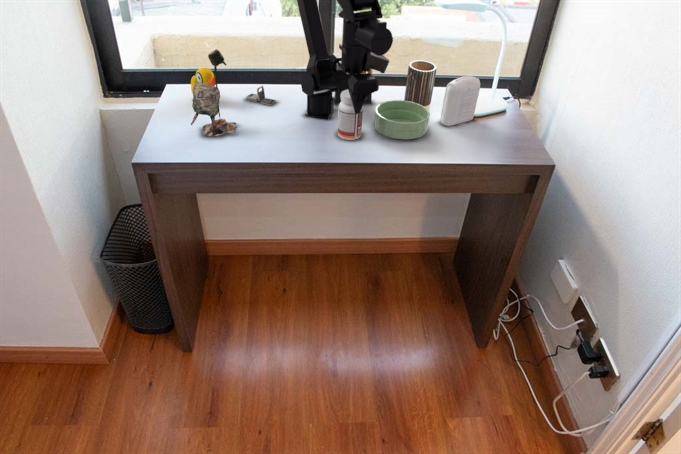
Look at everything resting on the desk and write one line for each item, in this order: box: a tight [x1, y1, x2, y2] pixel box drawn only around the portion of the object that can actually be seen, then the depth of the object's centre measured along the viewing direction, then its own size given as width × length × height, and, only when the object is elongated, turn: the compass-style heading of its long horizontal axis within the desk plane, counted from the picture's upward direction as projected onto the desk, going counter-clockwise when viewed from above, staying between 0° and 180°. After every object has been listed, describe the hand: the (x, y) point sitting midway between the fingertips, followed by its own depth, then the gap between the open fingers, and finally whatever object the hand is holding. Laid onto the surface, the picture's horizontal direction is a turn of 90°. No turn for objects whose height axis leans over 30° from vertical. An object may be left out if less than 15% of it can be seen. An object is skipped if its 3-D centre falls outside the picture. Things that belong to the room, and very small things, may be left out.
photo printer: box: [439, 75, 481, 127], centre depth 136 cm, size 10×4×12 cm, turn 123°
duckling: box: [190, 67, 216, 95], centre depth 139 cm, size 11×5×10 cm, turn 44°
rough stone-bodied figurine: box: [190, 49, 238, 137], centre depth 123 cm, size 8×11×20 cm
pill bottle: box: [337, 90, 364, 141], centre depth 127 cm, size 6×6×11 cm
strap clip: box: [246, 85, 277, 106], centre depth 143 cm, size 8×3×4 cm, turn 65°
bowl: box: [373, 99, 431, 140], centre depth 133 cm, size 14×14×5 cm
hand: (350, 105), depth 125 cm, fingers open, 9 cm apart
